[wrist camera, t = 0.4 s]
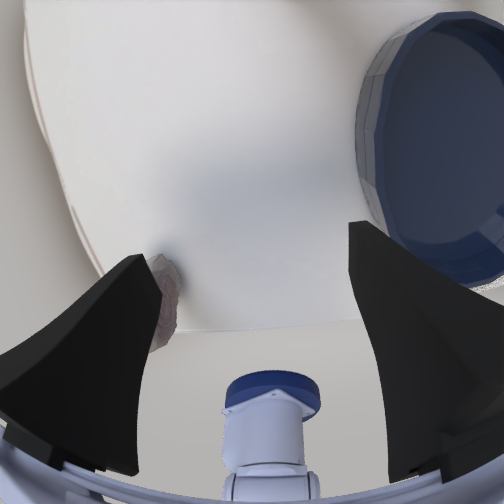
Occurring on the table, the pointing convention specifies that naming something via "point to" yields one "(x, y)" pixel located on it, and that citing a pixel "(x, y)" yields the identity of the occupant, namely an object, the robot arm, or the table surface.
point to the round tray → (438, 143)
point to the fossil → (165, 299)
